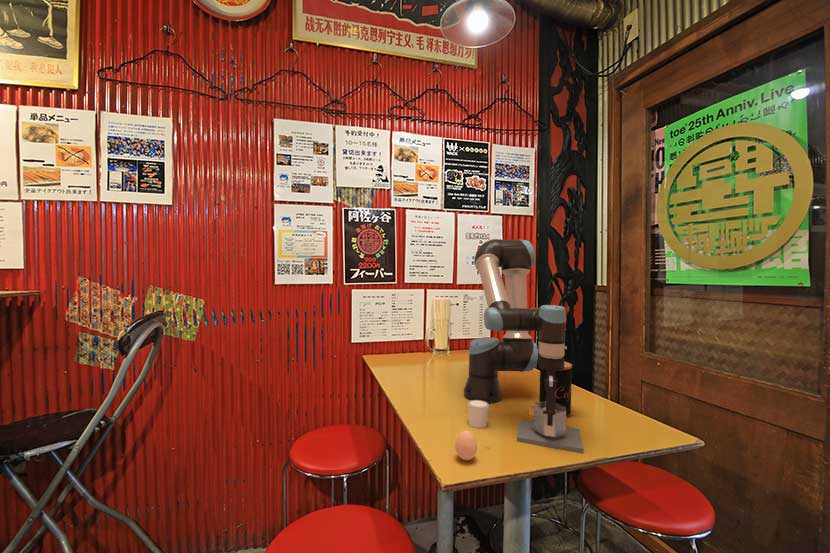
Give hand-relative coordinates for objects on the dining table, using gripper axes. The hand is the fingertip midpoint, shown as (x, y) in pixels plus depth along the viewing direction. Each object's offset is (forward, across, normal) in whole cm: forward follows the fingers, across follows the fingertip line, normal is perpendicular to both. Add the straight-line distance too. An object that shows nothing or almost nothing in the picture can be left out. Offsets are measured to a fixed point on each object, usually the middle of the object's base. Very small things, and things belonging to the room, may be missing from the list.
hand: (549, 428), depth 109 cm
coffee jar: (+3, +21, -2) cm, 21 cm away
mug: (0, 0, 0) cm, 0 cm away
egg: (+3, -23, +21) cm, 31 cm away
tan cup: (+3, 0, +22) cm, 22 cm away
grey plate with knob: (+2, 0, 0) cm, 2 cm away
